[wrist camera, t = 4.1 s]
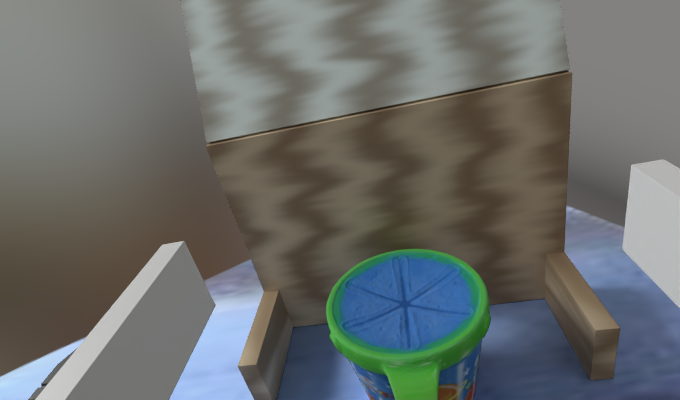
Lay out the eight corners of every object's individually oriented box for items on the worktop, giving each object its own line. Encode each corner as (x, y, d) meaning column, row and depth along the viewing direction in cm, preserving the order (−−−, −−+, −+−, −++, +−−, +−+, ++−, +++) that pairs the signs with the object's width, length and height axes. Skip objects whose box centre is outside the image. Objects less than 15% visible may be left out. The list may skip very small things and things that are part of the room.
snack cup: (366, 320, 38) (344, 234, 34) (480, 316, 36) (472, 222, 31) (339, 505, 25) (296, 403, 20) (518, 520, 22) (514, 407, 18)
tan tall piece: (258, 407, 32) (-120, -353, 14) (297, 261, 50) (154, -162, 31) (613, 378, 28) (777, -801, 9) (520, 229, 45) (512, -287, 27)
